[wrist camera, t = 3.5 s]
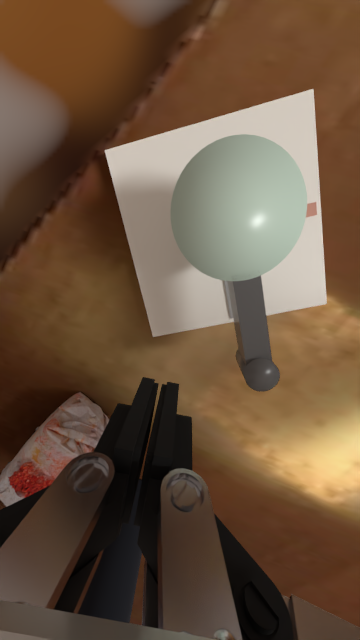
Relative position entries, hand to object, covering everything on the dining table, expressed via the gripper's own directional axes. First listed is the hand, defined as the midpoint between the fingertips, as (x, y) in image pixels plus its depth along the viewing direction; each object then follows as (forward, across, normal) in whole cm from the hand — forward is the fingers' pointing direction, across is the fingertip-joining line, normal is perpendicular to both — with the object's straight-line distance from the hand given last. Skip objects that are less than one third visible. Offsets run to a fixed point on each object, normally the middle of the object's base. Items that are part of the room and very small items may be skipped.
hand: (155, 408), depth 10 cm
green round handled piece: (+12, -5, -6) cm, 14 cm away
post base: (+18, -3, -10) cm, 21 cm away
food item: (+19, +12, +20) cm, 30 cm away
